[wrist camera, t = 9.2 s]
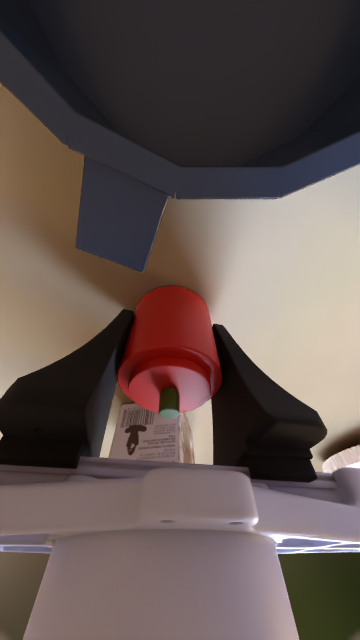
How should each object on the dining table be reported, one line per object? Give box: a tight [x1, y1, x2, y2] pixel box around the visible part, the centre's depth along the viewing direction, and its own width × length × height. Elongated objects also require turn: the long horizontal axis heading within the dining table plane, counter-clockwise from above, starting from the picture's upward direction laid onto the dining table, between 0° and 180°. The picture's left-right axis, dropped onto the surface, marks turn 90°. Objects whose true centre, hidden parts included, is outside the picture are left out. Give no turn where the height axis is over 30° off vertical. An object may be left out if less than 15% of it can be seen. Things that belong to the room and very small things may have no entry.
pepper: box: [117, 286, 222, 419], centre depth 11 cm, size 5×5×7 cm
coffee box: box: [108, 403, 195, 464], centre depth 16 cm, size 9×6×16 cm
